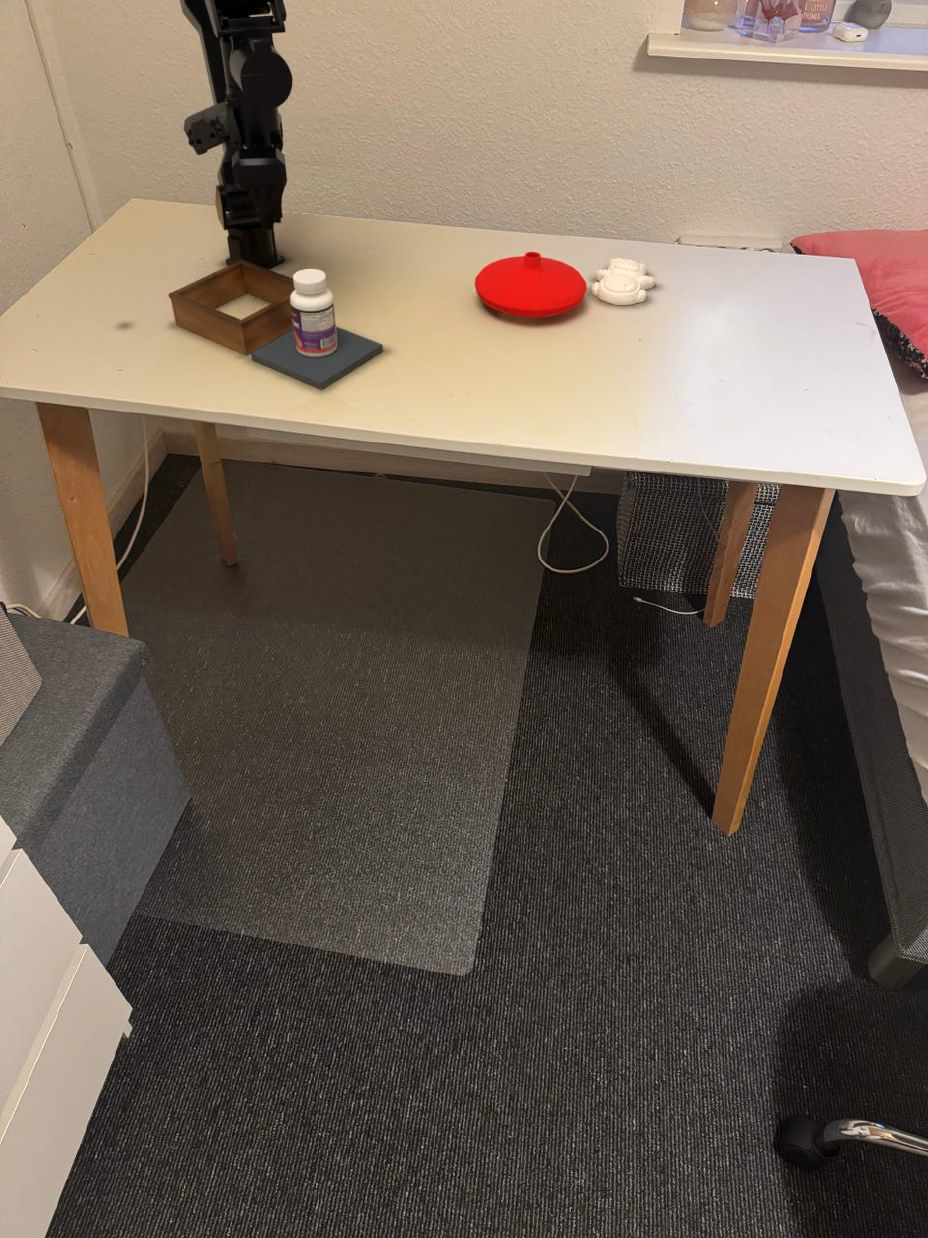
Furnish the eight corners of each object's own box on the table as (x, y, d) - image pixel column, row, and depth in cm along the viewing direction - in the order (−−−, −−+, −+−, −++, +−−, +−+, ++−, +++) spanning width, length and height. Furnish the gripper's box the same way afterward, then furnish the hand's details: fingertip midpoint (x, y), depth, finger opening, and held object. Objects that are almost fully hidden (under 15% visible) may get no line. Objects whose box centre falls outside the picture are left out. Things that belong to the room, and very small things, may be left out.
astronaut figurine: (661, 276, 140) (665, 256, 138) (638, 310, 132) (642, 289, 130) (605, 265, 143) (608, 245, 141) (580, 297, 135) (582, 277, 133)
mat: (314, 324, 128) (313, 317, 127) (383, 351, 123) (382, 344, 122) (251, 359, 121) (250, 352, 120) (321, 389, 116) (320, 382, 115)
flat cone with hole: (455, 314, 131) (455, 265, 126) (500, 270, 141) (503, 223, 136) (560, 340, 126) (565, 290, 121) (600, 292, 136) (606, 244, 131)
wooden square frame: (246, 289, 135) (241, 259, 132) (315, 316, 130) (312, 285, 126) (175, 325, 127) (168, 293, 124) (246, 355, 122) (241, 323, 119)
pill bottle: (296, 338, 123) (288, 266, 116) (337, 337, 124) (331, 265, 117) (294, 359, 119) (286, 285, 112) (337, 358, 120) (331, 285, 113)
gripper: (184, 60, 116) (205, 189, 128) (177, 110, 104) (202, 249, 115) (275, 58, 118) (288, 186, 129) (279, 107, 105) (294, 244, 116)
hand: (267, 214), depth 122 cm, fingers open, 9 cm apart
